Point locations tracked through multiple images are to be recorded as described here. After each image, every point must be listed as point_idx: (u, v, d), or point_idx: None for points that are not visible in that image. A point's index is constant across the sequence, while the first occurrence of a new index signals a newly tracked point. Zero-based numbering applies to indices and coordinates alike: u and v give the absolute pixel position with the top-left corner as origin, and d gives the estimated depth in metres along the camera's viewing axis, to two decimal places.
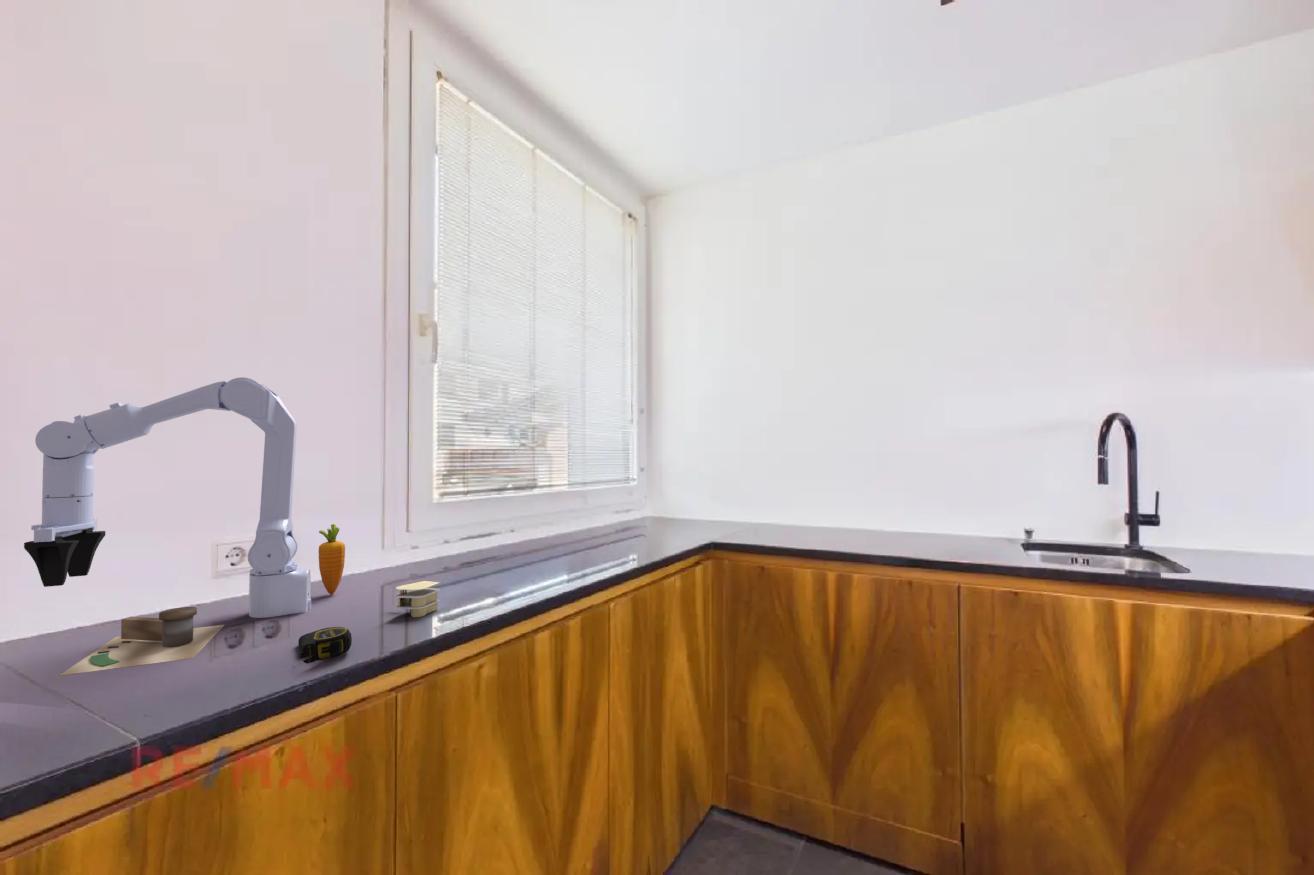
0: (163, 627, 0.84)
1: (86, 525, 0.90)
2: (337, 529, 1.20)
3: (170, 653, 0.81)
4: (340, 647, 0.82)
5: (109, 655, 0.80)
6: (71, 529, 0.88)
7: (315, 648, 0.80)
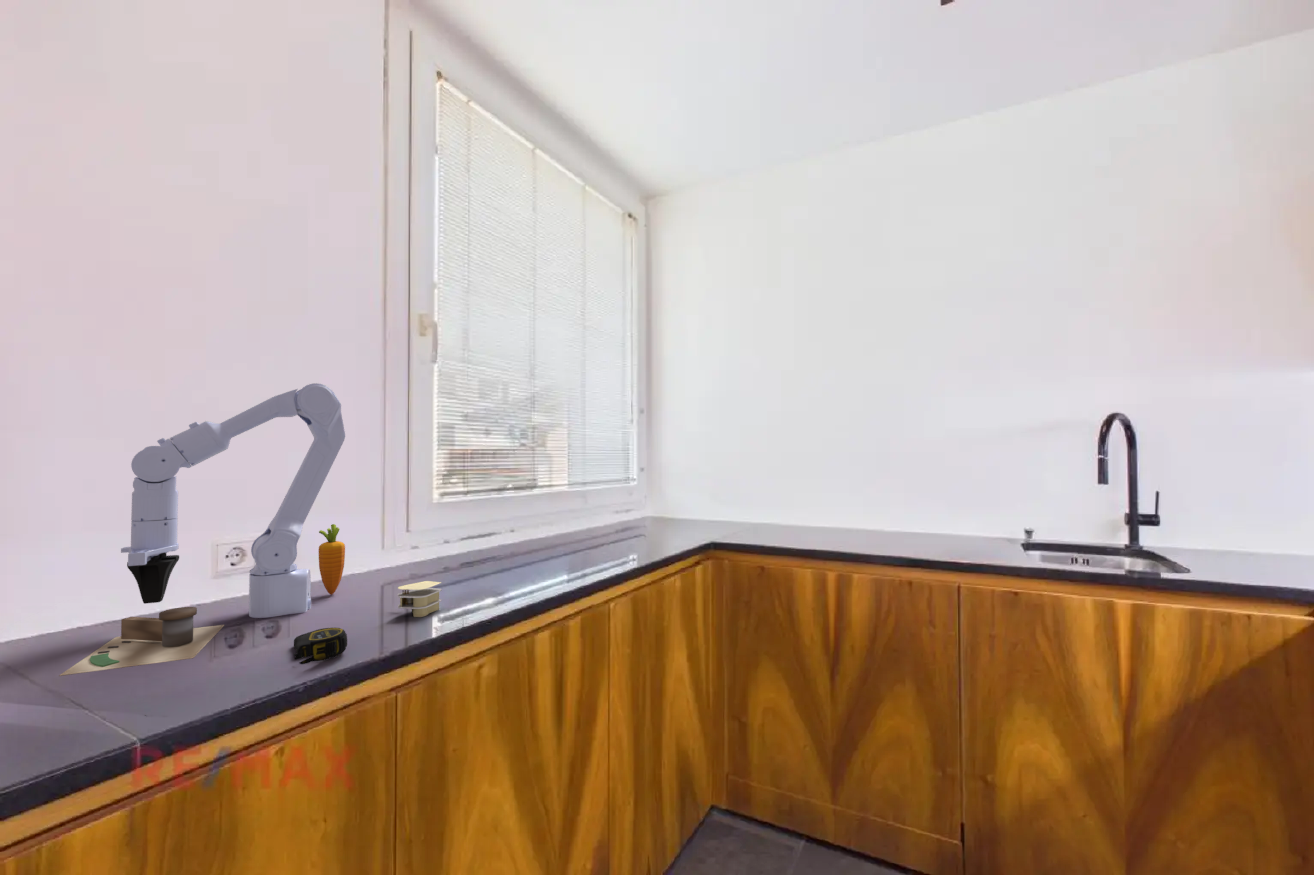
0: (163, 627, 0.84)
1: (172, 547, 0.92)
2: (337, 529, 1.20)
3: (170, 653, 0.81)
4: (335, 648, 0.82)
5: (109, 655, 0.80)
6: (160, 552, 0.90)
7: (310, 648, 0.80)
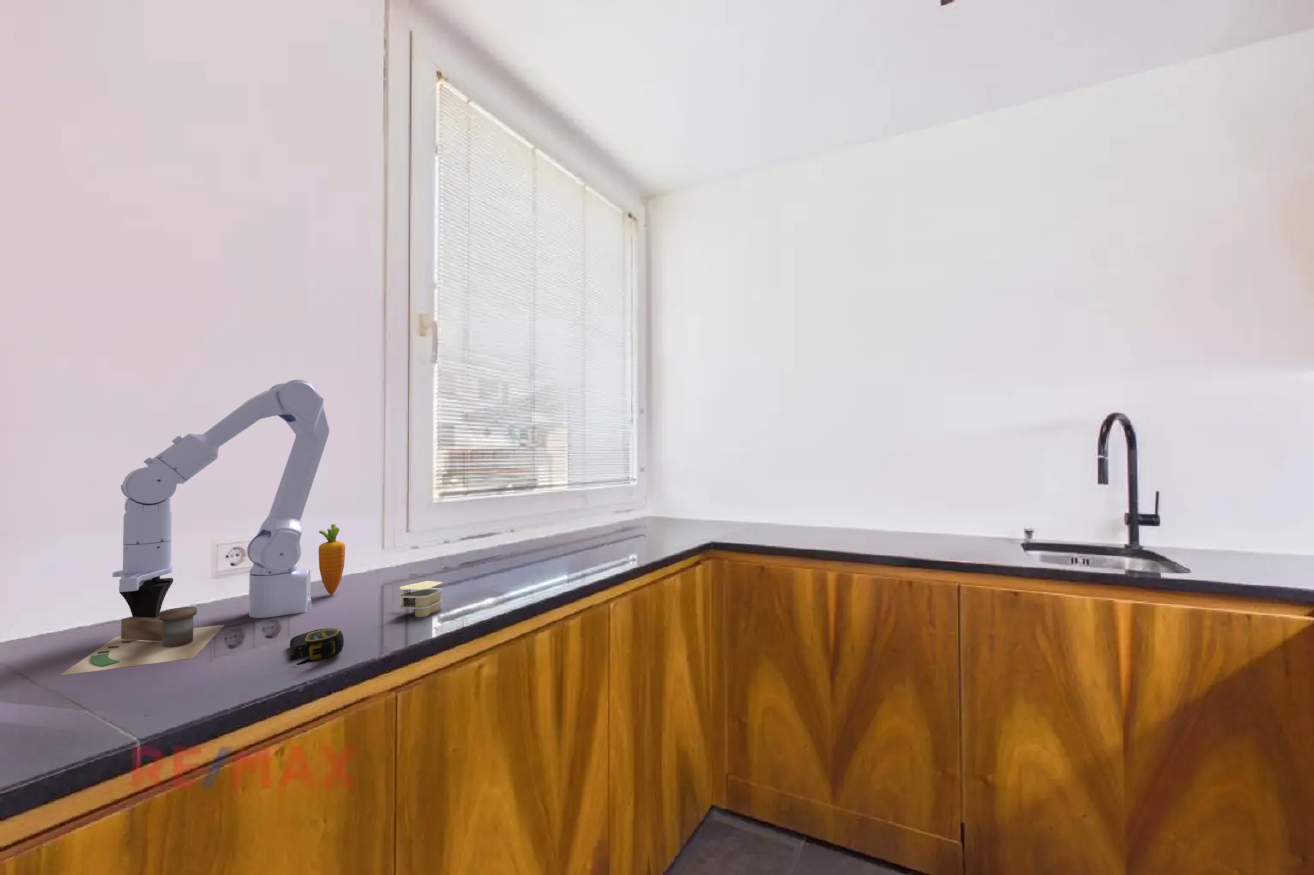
0: (163, 627, 0.84)
1: (166, 571, 0.89)
2: (337, 529, 1.20)
3: (170, 653, 0.81)
4: (332, 649, 0.82)
5: (109, 655, 0.80)
6: (153, 576, 0.87)
7: (306, 649, 0.80)
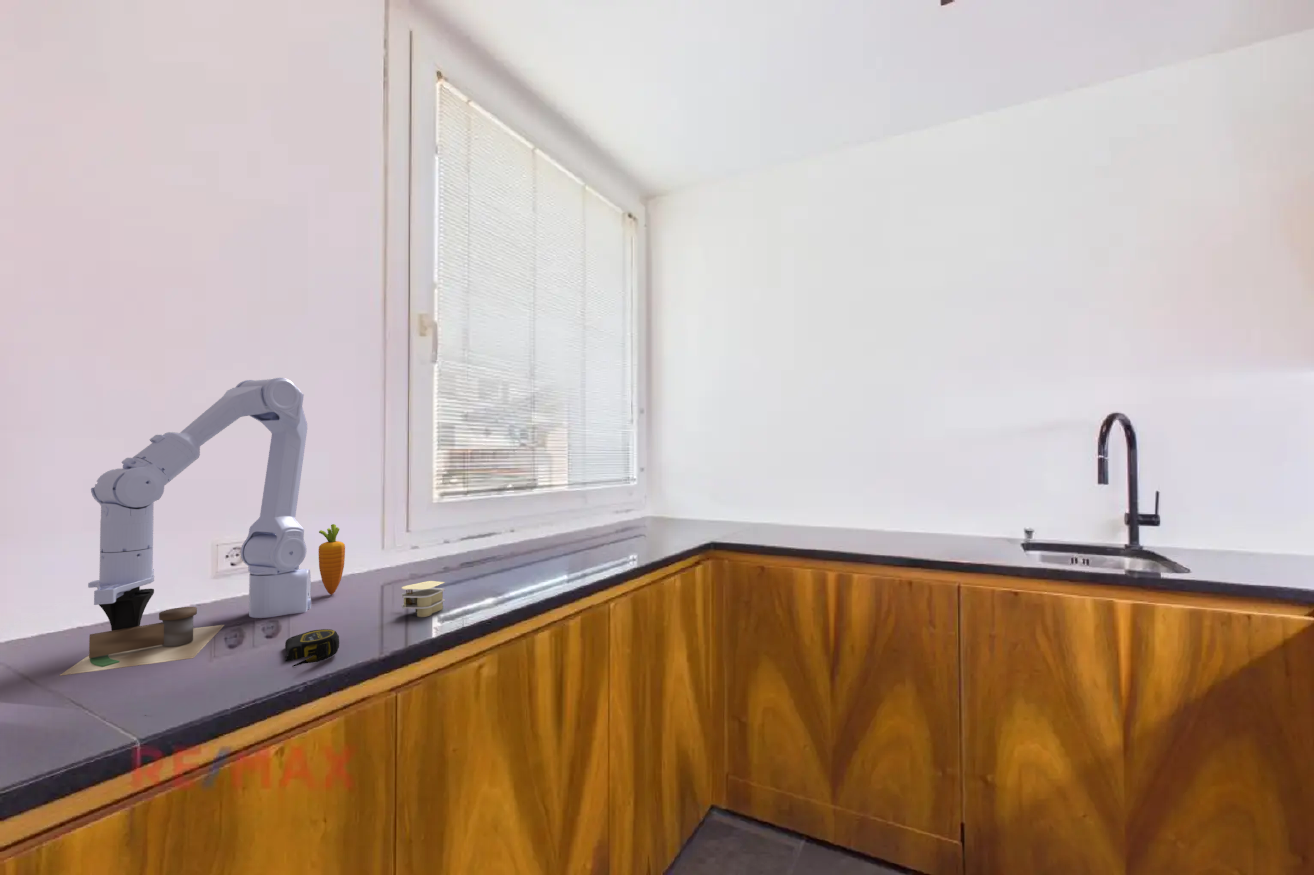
0: (173, 627, 0.84)
1: (146, 581, 0.82)
2: (337, 529, 1.20)
3: (170, 653, 0.81)
4: (327, 650, 0.81)
5: (109, 655, 0.80)
6: (132, 587, 0.80)
7: (301, 650, 0.79)
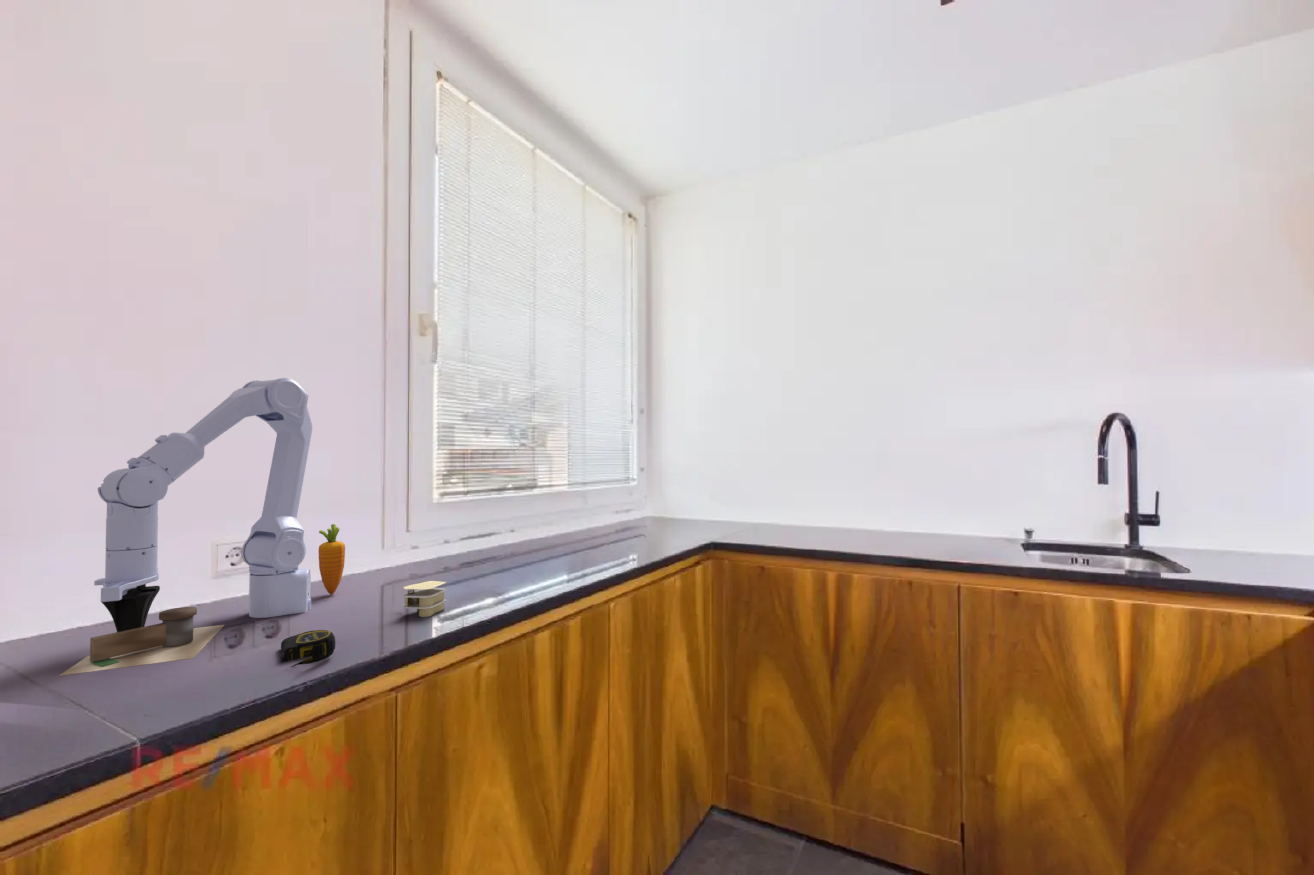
0: (177, 627, 0.84)
1: (151, 579, 0.84)
2: (337, 529, 1.20)
3: (170, 653, 0.81)
4: (323, 651, 0.81)
5: None
6: (137, 585, 0.81)
7: (297, 651, 0.79)
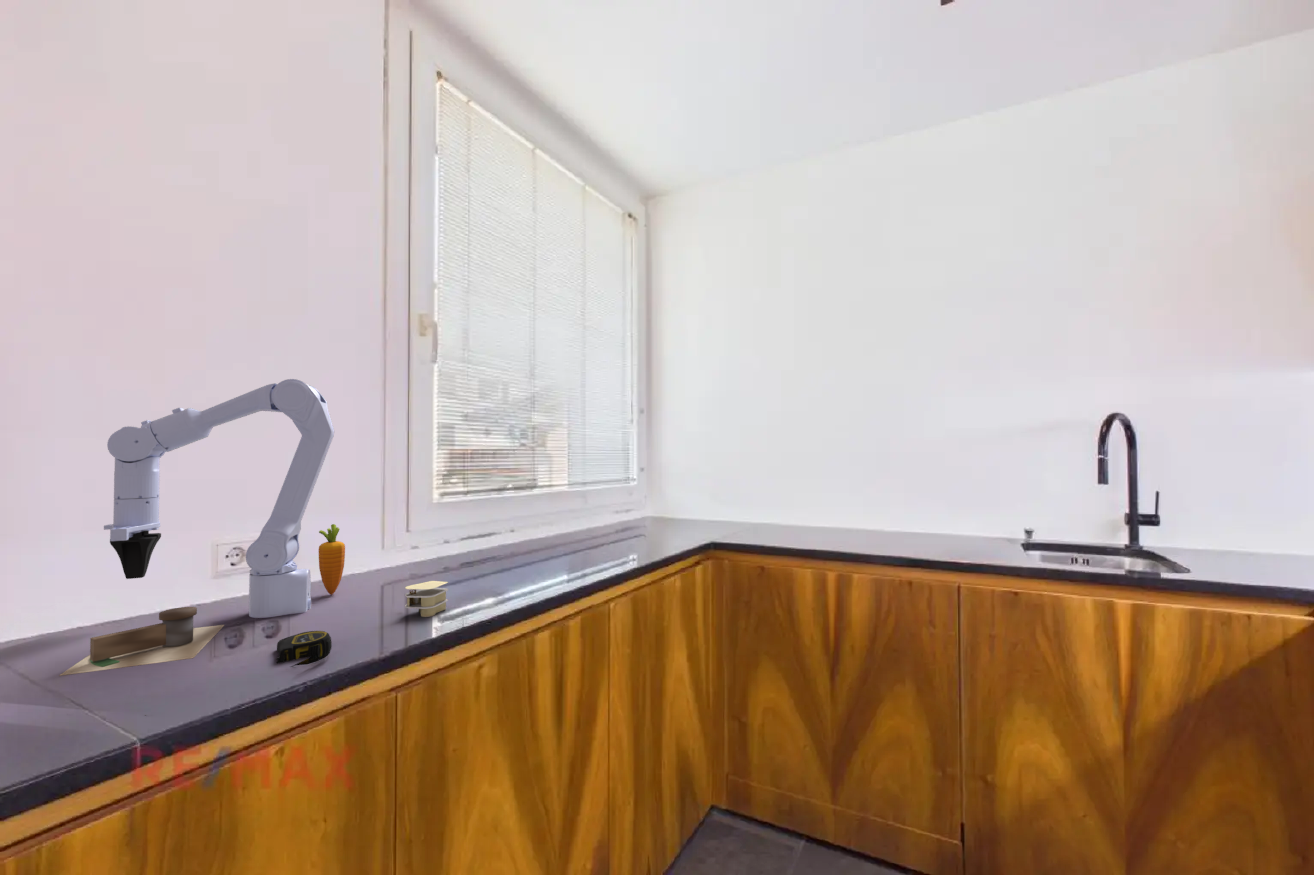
0: (177, 627, 0.84)
1: (154, 525, 0.95)
2: (337, 529, 1.20)
3: (170, 653, 0.81)
4: (319, 652, 0.80)
5: None
6: (142, 529, 0.93)
7: (292, 652, 0.79)
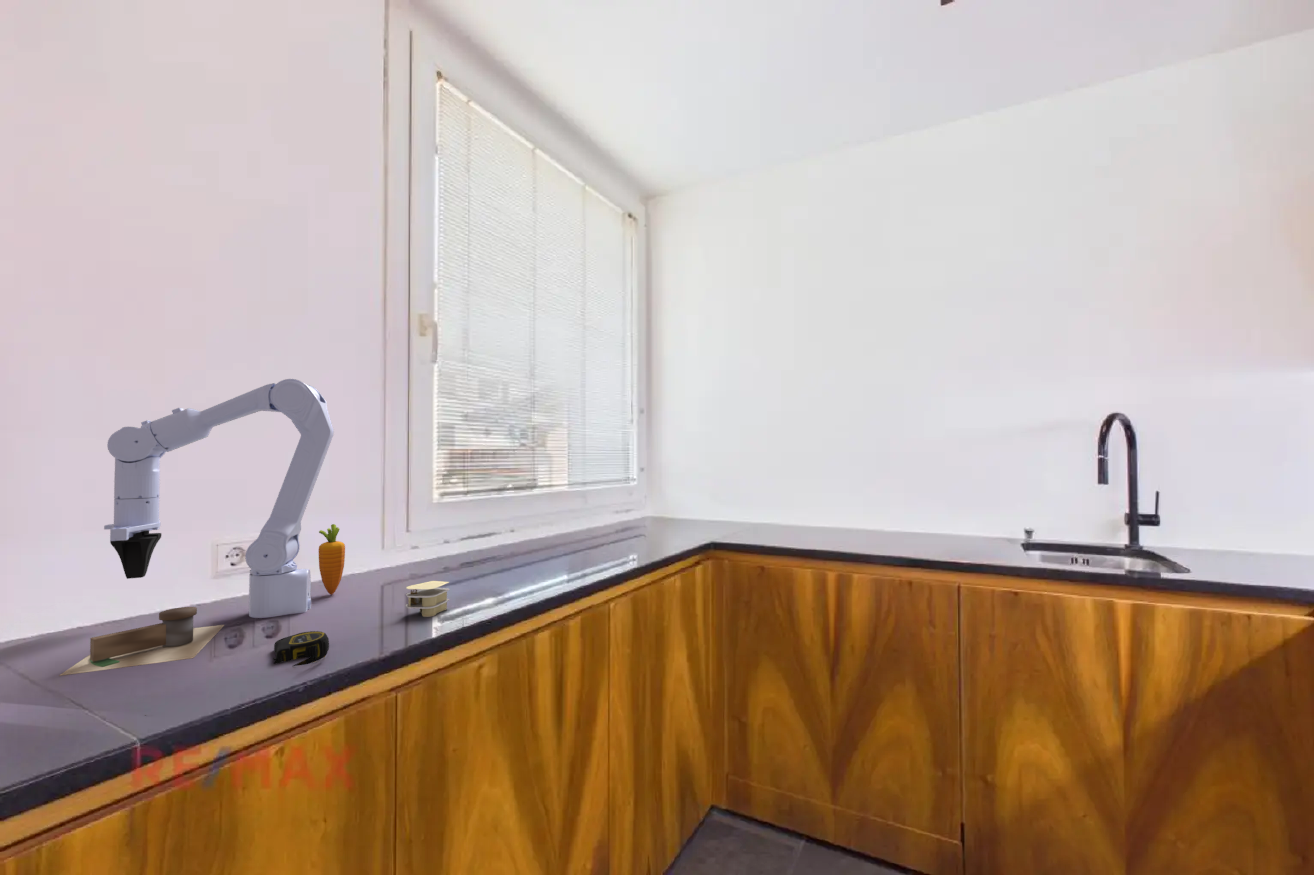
0: (177, 627, 0.84)
1: (154, 525, 0.96)
2: (337, 529, 1.20)
3: (170, 653, 0.81)
4: (316, 652, 0.80)
5: None
6: (142, 529, 0.93)
7: (290, 653, 0.78)
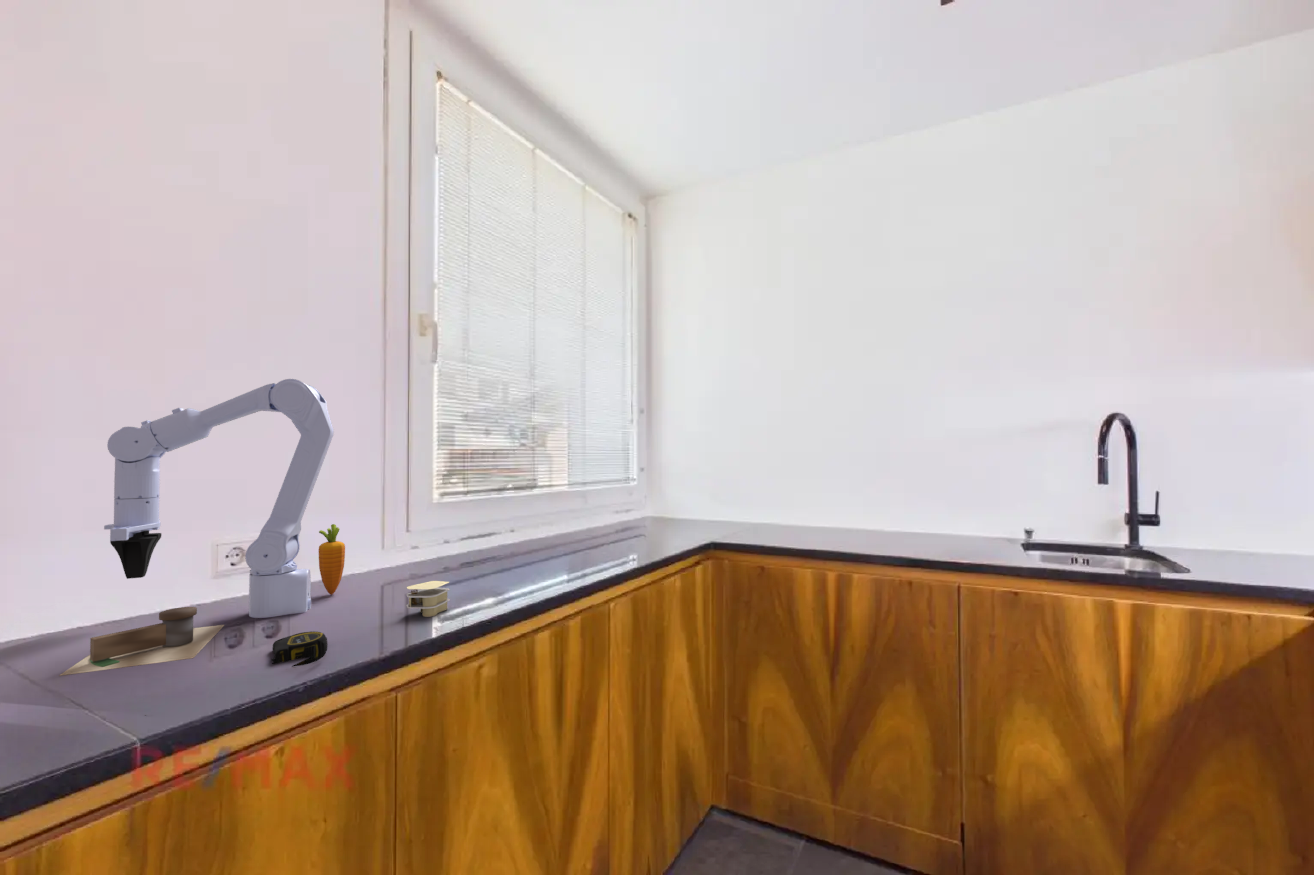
0: (177, 627, 0.84)
1: (154, 525, 0.96)
2: (337, 529, 1.20)
3: (170, 653, 0.81)
4: (315, 653, 0.80)
5: None
6: (142, 529, 0.93)
7: (288, 653, 0.78)
